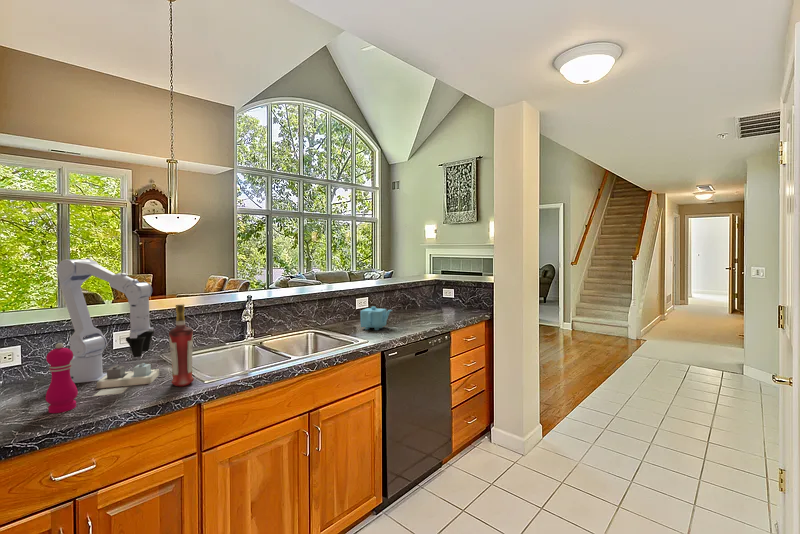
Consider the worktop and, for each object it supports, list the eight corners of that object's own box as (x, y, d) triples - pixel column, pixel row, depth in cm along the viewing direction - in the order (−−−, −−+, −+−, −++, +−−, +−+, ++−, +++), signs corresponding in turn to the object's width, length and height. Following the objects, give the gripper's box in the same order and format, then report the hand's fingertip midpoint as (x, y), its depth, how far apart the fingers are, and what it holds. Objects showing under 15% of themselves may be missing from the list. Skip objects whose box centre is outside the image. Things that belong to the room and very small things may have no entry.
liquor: (170, 383, 137) (167, 304, 136) (193, 379, 141) (190, 302, 140) (171, 389, 131) (168, 307, 130) (195, 385, 135) (193, 305, 134)
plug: (134, 381, 138) (133, 366, 138) (138, 378, 142) (138, 363, 142) (146, 380, 139) (146, 365, 139) (151, 377, 143) (150, 362, 143)
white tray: (96, 389, 132) (96, 371, 132) (109, 379, 142) (108, 363, 142) (150, 384, 137) (150, 367, 137) (159, 375, 147) (158, 359, 146)
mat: (92, 397, 125) (92, 396, 125) (101, 390, 131) (101, 389, 131) (121, 394, 128) (121, 393, 128) (128, 387, 133) (128, 387, 133)
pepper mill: (59, 405, 119) (55, 340, 118) (84, 404, 119) (81, 339, 119) (39, 415, 112) (35, 346, 111) (66, 414, 112) (62, 345, 111)
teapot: (358, 330, 223) (358, 308, 223) (368, 325, 238) (368, 304, 238) (388, 332, 218) (388, 309, 217) (397, 326, 233) (396, 305, 232)
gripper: (145, 319, 134) (147, 358, 134) (158, 312, 148) (160, 348, 148) (121, 320, 132) (123, 360, 132) (137, 313, 146) (138, 349, 146)
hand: (141, 353), depth 140 cm, fingers open, 7 cm apart
